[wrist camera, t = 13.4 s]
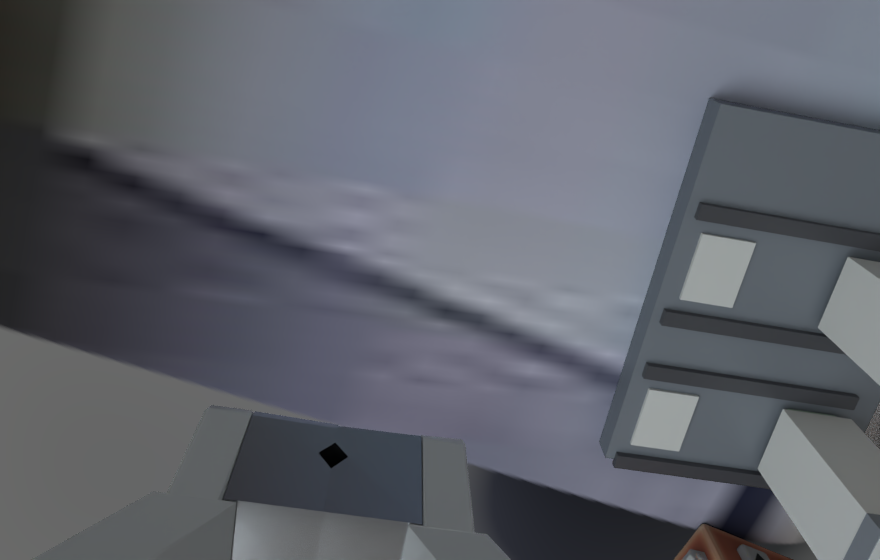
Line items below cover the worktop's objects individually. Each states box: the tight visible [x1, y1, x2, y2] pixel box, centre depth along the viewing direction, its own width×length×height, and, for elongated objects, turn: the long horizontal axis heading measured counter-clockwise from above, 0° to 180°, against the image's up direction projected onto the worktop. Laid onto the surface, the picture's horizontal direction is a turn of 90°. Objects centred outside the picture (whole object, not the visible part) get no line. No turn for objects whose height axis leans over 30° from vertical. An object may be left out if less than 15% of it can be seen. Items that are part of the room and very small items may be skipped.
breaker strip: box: [599, 98, 880, 560], centre depth 35 cm, size 20×14×13 cm
